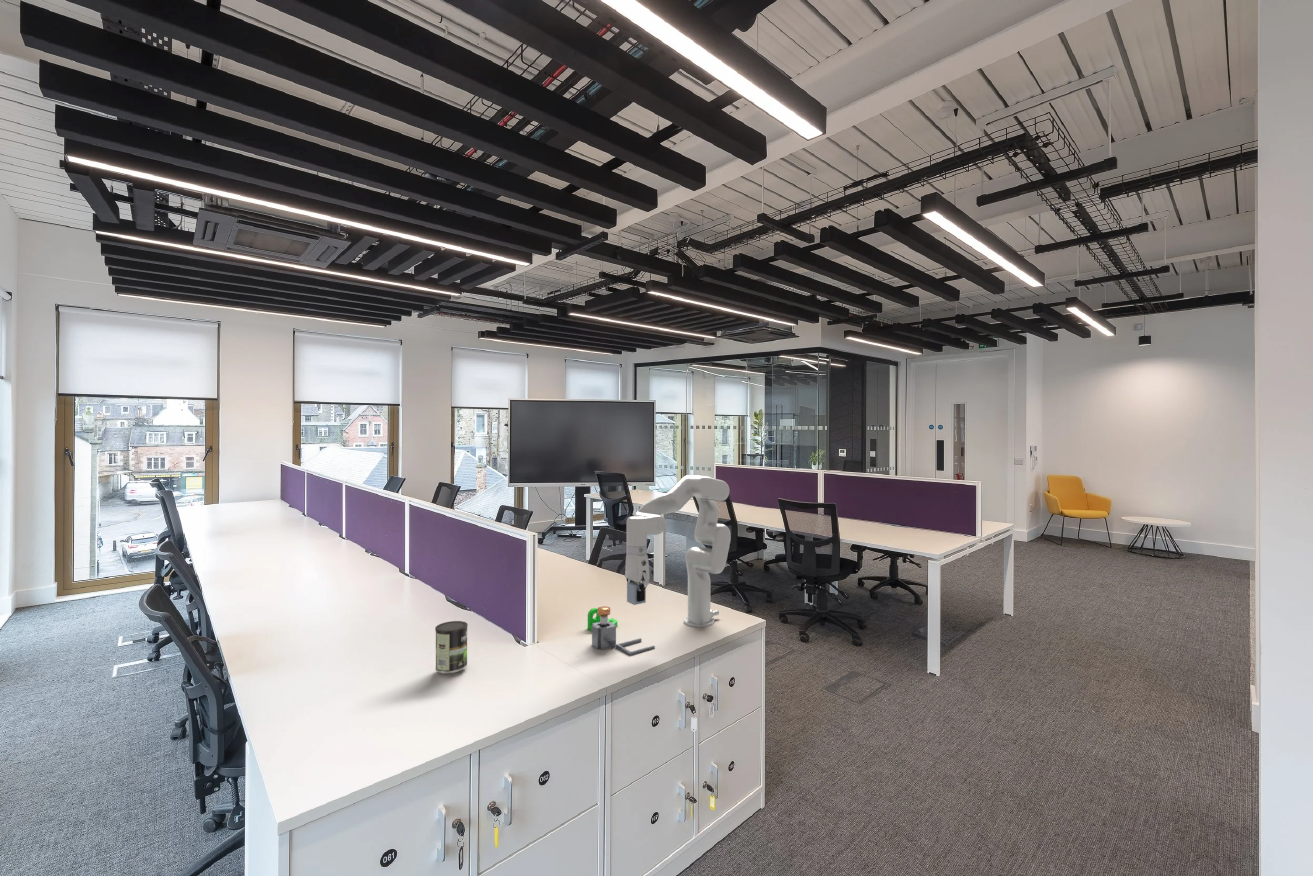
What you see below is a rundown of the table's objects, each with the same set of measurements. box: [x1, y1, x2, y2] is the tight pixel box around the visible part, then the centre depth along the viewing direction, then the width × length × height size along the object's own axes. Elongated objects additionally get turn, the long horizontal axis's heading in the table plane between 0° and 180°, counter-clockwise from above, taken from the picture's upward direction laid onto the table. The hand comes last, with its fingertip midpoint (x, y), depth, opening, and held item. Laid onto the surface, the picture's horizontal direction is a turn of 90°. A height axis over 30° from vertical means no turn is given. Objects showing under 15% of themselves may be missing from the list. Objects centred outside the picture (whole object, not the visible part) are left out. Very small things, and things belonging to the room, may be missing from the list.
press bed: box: [611, 638, 656, 657], centre depth 199 cm, size 13×12×2 cm
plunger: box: [597, 606, 611, 627], centre depth 202 cm, size 5×5×8 cm
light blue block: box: [626, 582, 647, 606], centre depth 199 cm, size 5×5×8 cm
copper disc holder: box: [591, 622, 617, 651], centre depth 202 cm, size 8×8×8 cm
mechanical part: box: [587, 607, 618, 631], centre depth 222 cm, size 12×6×8 cm, turn 126°
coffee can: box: [434, 620, 469, 674], centre depth 183 cm, size 10×10×14 cm
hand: (636, 598), depth 199 cm, fingers closed on light blue block, 5 cm apart
